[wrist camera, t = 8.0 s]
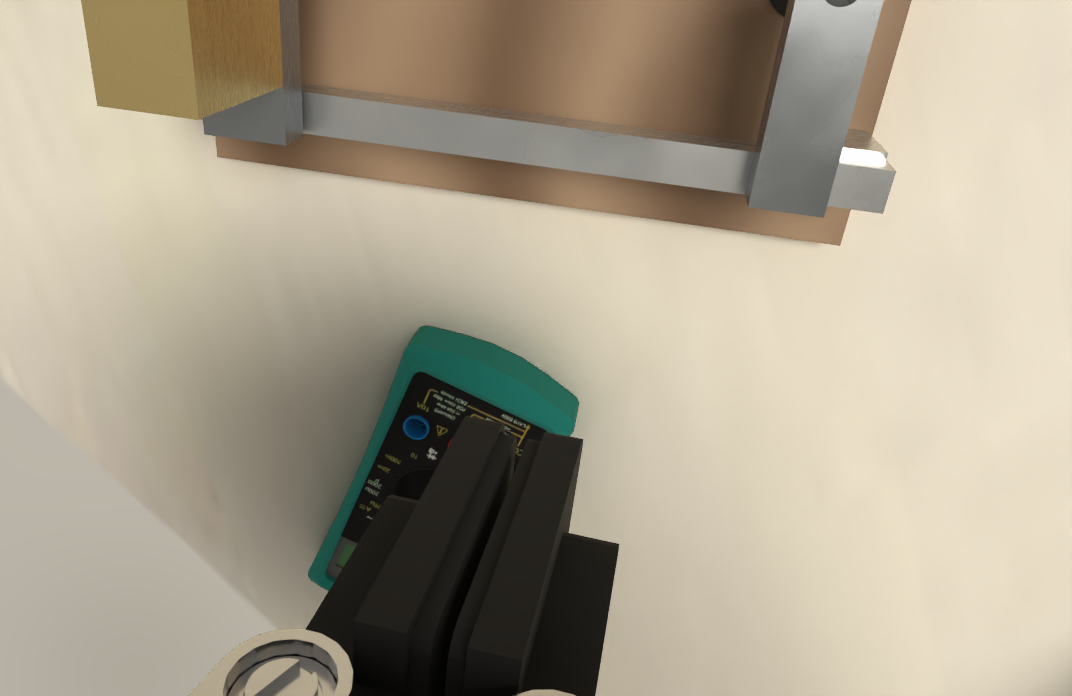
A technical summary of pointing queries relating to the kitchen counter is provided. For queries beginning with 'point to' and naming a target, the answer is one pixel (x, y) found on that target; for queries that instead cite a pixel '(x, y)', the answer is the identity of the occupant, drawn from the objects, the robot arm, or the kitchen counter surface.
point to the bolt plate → (606, 105)
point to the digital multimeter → (440, 426)
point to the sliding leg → (201, 63)
